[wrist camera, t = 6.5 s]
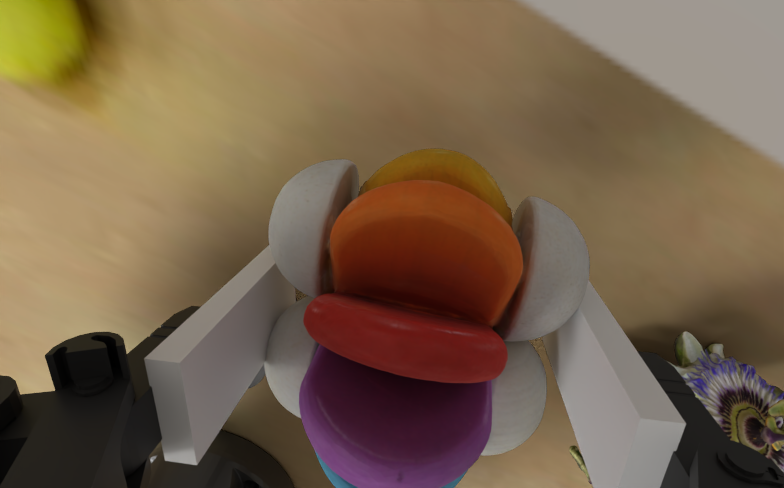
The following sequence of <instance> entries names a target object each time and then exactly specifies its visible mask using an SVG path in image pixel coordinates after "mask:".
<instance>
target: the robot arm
mask: <svg viewBox="0 0 784 488" xmlns="http://www.w3.org/2000/svg"><path fill="white" fill-rule="evenodd" d="M295 302H296V293H295V287H294V286H293V285H292V284H291V283H290V282H289V281H288V280H287V279H286V278H285V277H284V276H283V275H282V273H281V272H280V270H279V268H278V267H277V265H276V263H275V261H274V259H273V256H272V253H271V250H270V245H268V246H267V247H266V248H265V249H264V250H263V251H262V252H261V253H260V254H259V255H257V256H256V257H255V258H254V259H253V260H252V261H251V262H250V263H249V264H248V265H246V266H245V267H244V268H243V269H242V270H241V271H240V272H239V273H238V274H237V275H235V276H234V277H233V278H232V279H231V280H230V281H229V282H228V283H227V284H226V285H224V286H223V287H222V288H221V289H220V290H219V291H218V292H217V293H216V294H215V295H213V296H212V297H211V298H210V299H209V300H208V301H207V302H206V303H205V304H204V305H202V306H201V307H196V306H191V307H189V308H187V309H185V310H182V311H180V312H178V313H176V314H174V315H173V316H172V317H170V318H169V319H168V320H167V321H166V322H165V323H163V324H162V325H161V328H157V329H156V330H155V331H154V332H153V333H152V334H151V336H150V337H147V338H146V339H145V340H143V341H142V342H141V343H140V344H139V345H137V346H136V347H135V348H134V349H133V350H132V351H130V352H129V353H128V354H126V349H125V345H124V340H123V338H122V337H121V336H120V335H118V334H115V333H111V332H94V333H89V334H84V335H79V336H77V337H74V338H71V339H68V340H66V341H64V342H62V343H60V344H59V345H57V346H55V347H53V348H52V349H51V350H50V351H49V352H48V353H47V354H46V355H45V358H46V361H47V364H48V367H49V371H50V374H51V377H52V381H53V384H54V387H55V391H51V392H41V393H32V394H22V395H20V393H19V390H18V387H17V384H16V381H15V380H13V379H12V378H11V377H9V376H1V375H0V488H294V486H293V484H292V482H291V480H290V479H289V477H288V475H287V474H286V472H285V471H284V470H283V469H282V467H281V466H280V465H279V464H278V463H277V462H276V461H275V460H274V459H273V458H272V457H271V456H270V455H268V454H267V453H266V452H265V451H263V450H262V449H260V448H259V447H257V446H256V445H254V444H252V443H251V442H249V441H247V440H245V439H243V438H241V437H238V436H236V435H233V434H230V433H227V432H224V431H220V430H221V428H222V427H223V425H224V424H225V422H226V421H227V419H228V418H229V416H230V415H231V413H232V412H233V410H234V408H235V407H236V405H237V404H238V402H239V401H240V399H241V398H242V396H243V395H244V393H245V392H246V390H247V389H248V387H249V386H250V384H251V383H252V381H253V380H254V378H255V377H256V375H257V374H258V372H259V371H260V369H261V367H262V366H263V364H264V363H265V360H266V351H267V346H268V341H269V337H270V334H271V332H272V329H273V327H274V325H275V323H276V321H277V320H278V318H279V317H280V316H281V315H282V313H283V312H284V311H285V310H286V309H288V308H289V307H290V306H291V305H292V304H294V303H295ZM542 341H543V344H544V346H545V349H546V352H547V355H548V358H549V361H550V364H551V367H552V370H553V372H554V375H555V378H556V381H557V384H558V387H559V390H560V393H561V396H562V399H563V401H564V404H565V407H566V410H567V413H568V416H569V419H570V422H571V425H572V427H573V430H574V433H575V436H576V439H577V442H578V445H579V448H580V451H581V453H582V456H583V459H584V462H585V465H586V468H587V471H588V474H589V477H590V480H591V482H592V485H593V488H784V472H783V471H782V470H781V469H780V468H779V467H778V466H777V465H776V464H775V463H774V462H773V461H771V460H770V459H768V458H767V457H765V456H764V455H762V454H761V453H759V452H758V451H756V450H754V449H752V448H750V447H748V446H746V445H743V444H741V443H739V442H735V441H732V440H730V439H729V437H728V436H727V435H726V433H725V432H724V431H723V430H722V428H721V427H720V426H719V424H718V423H717V422H716V420H715V419H714V418H713V417H712V415H711V414H710V413H709V411H708V410H707V409H706V407H705V406H704V405H703V404H702V402H701V401H700V400H699V398H696V397H695V393H694V392H693V391H692V389H691V388H690V387H689V385H686V382H685V380H684V379H683V378H682V376H681V375H680V374H679V372H678V371H677V370H676V369H675V367H674V366H672V365H671V364H670V363H668V362H667V361H665V360H664V359H663V358H661V357H660V356H659V355H657V354H656V353H649V352H639V351H636V349H635V348H634V346H633V345H632V343H631V342H630V340H629V339H628V337H627V336H626V334H625V333H624V331H623V330H622V328H621V327H620V325H619V324H618V323H617V321H616V320H615V318H614V317H613V315H612V314H611V312H610V311H609V309H608V308H607V306H606V305H605V303H604V302H603V300H602V299H601V298H600V296H599V295H598V293H597V292H596V290H595V289H594V287H593V286H592V284H591V283H590V281H589V280H588V285H587V288H586V292H585V295H584V297H583V300H582V302H581V304H580V306H579V308H578V309H577V310H576V312H575V313H574V314H573V316H572V317H571V318H570V319H569V320H568V321H567V322H566V323H564V324H563V325H562V326H561V327H559V328H558V329H557V330H555V331H553V332H551V333H549V334H547V335H545V336H543V338H542Z"/></svg>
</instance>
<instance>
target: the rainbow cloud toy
mask: <svg viewBox="0 0 784 488" xmlns="http://www.w3.org/2000/svg"><path fill="white" fill-rule="evenodd" d="M269 245H270V250H271V253H272V256H273V259H274V261H275V263H276V265H277V267H278V268H279V270H280V272H281V273H282V275H283V276H284V277H285V278H286V279H287V280H288V281H289V282H290V283H291V284H292V285H293V286H294V287H295V288H296V289H298V290H299V291H301V292H303V293H304V294H306V295H307V297H304V298H302V299H300V300H299V301H297V302H295V303H294V304H292V305H291V306H290V307H289V308H288V309H286V310H285V311H284V312H283V313H282V315H281V316H280V317H279V318H278V320H277V321H276V323H275V325H274V327H273V329H272V332H271V334H270V337H269V341H268V346H267V351H266V360H265V363H264V367H265V374H266V378H267V381H268V384H269V386H270V389H271V390H272V392H273V394H274V395H275V397H276V398H277V400H278V401H279V402H280V403H281V404H282V405H283V407H285V408H286V409H287V410H288V411H290V412H291V413H293V414H294V415H296V416H297V417H299V418H301V419H302V423H303V426H304V429H305V432H306V434H307V436H308V438H309V440H310V442H311V444H312V446H313V448H314V450H315V453H316V456H317V458H318V460H319V462H320V465H321V467H322V469H323V470H324V472H325V474H326V475H327V477H328V478H329V480H330V481H331V483H332V484H333V485H334V486H335V487H336V488H454V487H455V486H456V485H457V484H458V482H459V481H460V480H461V479H462V477H463V476H464V475H465V473H466V472H467V470H468V469H469V468H470V467H471V466H472V465H473V464H474V463H475V461H476V460H477V459H478V458H479V456H480V455H485V456H487V455H496V454H500V453H504V452H507V451H510V450H512V449H514V448H516V447H518V446H519V445H521V444H522V443H524V442H525V441H526V440H527V439H528V438H529V437H530V436H531V435H532V434H533V432H534V431H535V430H536V428H537V427H538V425H539V423H540V421H541V419H542V416H543V412H544V408H545V403H546V393H547V383H546V373H545V369H544V366H543V363H542V361H541V359H540V357H539V355H538V353H537V351H536V350H535V349H534V347H533V346H532V344H531V343H530V342H529V341H528V340H533V339H537V338H539V337H542V336H545V335H547V334H549V333H551V332H553V331H555V330H557V329H558V328H559V327H561V326H562V325H563V324H564V323H566V322H567V321H568V320H569V319H570V318H571V317H572V316H573V314H574V313H575V312H576V310H577V309H578V308H579V306H580V304H581V302H582V300H583V297H584V295H585V292H586V288H587V285H588V280H589V268H590V262H589V254H588V250H587V245H586V243H585V241H584V238H583V236H582V234H581V233H580V231H579V229H578V228H577V226H576V225H575V223H574V222H573V221H572V220H571V219H570V218H569V217H568V216H567V215H566V214H565V213H564V212H563V211H562V210H560V209H559V208H557V207H556V206H555V205H553V204H551V203H549V202H547V201H545V200H543V199H540V198H538V197H527V198H526V199H524V200H523V201H522V202H521V204H520V205H519V207H518V209H517V211H516V213H515V215H514V217H513V219H512V212H511V209H510V208H509V207H508V206H507V203H506V201H505V198H504V196H503V194H502V193H501V191H500V189H499V187H498V185H497V183H496V182H495V181H494V179H493V178H492V176H491V175H490V174H489V173H488V172H487V171H486V170H485V169H484V168H483V167H482V166H481V165H479V164H478V163H477V162H476V161H474V160H473V159H471V158H470V157H468V156H466V155H464V154H462V153H459V152H456V151H451V150H445V149H423V150H418V151H414V152H410V153H407V154H405V155H402V156H400V157H398V158H396V159H394V160H393V161H391V162H389V163H388V164H386V165H385V166H383V167H381V168H380V169H379V170H378V171H377V172H376V173H375V174H374V175H373V176H372V177H371V178H370V179H369V180H368V181H366V182H365V183H364V184H363V186H362V187H361V188H360V191H359V175H358V170H357V167H356V165H355V164H354V163H353V162H352V161H350V160H346V159H338V160H328V161H323V162H320V163H316V164H314V165H311V166H309V167H307V168H305V169H303V170H302V171H300V172H299V173H298V174H296V175H295V176H294V177H292V178H291V179H290V180H289V181H288V182H287V183H286V184H285V185H284V186H283V188H282V190H281V191H280V193H279V195H278V197H277V198H276V201H275V204H274V207H273V210H272V213H271V217H270V222H269Z"/></svg>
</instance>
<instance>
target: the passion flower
mask: <svg viewBox="0 0 784 488" xmlns="http://www.w3.org/2000/svg"><path fill="white" fill-rule="evenodd" d="M723 347H724V346H723V345H722V344H712V345H710V346H709V347H708V348H707V349H705V351H703V347H702V346H701V344H700V343H699V342H698V340H697V339H696V338H695V337H694V336H693V335H692V334H691V333H689V332H687V331H684V332H683V333H681V334H680V335H679V336H678V337H677V338H676V340H675V344H674V348H675V355H676V359H677V363H678V366H675V365H673V364H672V363H670V362H668V361H667V362H668V363H670V364H671V365H672V366H674V367H675V369H676V370H677V371H678V372H679V374H680V375H681V376H682V378H683V379H684V380H685V382H686V385H689V387H690V388H691V389H692V391H693V392H694V393H695V397H696V398H699V400H700V401H701V402H702V404H703V405H704V406H705V407H706V409H707V410H708V411H709V413H710V414H711V415H712V417H713V418H714V419H715V420H716V422H717V423H718V424H719V426H720V427H721V428H722V430H723V431H724V432H725V433H726V435H727V436H728V437H729V439H730V440H732V441H735V442H739V443H741V444H743V445H746V446H748V447H750V448H752V449H754V450H756V451H758V452H759V453H761V454H762V455H764V456H765V457H767V458H768V459H770V460H771V461H773V462H774V463H775V464H776V465H777V466H778V467H779V468H780V469H781V470H782V471H783V472H784V392H783V391H782V390H781V389H779V388H778V387H775V386H771V385H769V384H767V383H766V381H765V380H764V379H761V377H760V376H759V375H756V374H755V373H756V371H755V369H754V367H753V366H752V365H746V364H743V363H741V362H738V361H737V360H735V359H734V358H733V356H732V357H729V358H725V356H724V353H723ZM569 450H570V453H571V455H572V456H573V458H574V459H575V461H576V462H577V464H578V466H579V468H580V469H581V470H582V471H584V472H585V474H586V475H587V478H588V481H589V483H590V484H592V482H591V480H590V477H589V474H588V471H587V468H586V465H585V462H584V459H583V457H582V455H581V454H580V452H579V450H578V448H577V446H571V447H570V449H569Z"/></svg>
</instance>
